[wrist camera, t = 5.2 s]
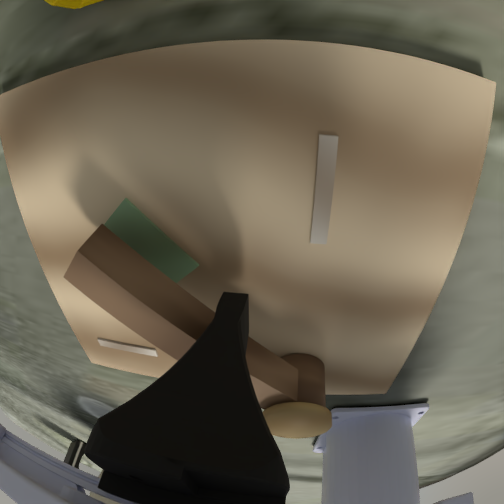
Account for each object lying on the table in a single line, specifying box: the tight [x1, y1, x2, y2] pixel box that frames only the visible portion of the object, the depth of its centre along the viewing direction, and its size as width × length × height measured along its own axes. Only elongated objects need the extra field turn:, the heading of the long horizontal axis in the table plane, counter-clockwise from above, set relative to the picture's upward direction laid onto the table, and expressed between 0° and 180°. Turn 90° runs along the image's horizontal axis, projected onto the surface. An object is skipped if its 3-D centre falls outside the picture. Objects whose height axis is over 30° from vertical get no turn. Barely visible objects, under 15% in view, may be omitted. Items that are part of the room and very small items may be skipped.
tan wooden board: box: [0, 40, 496, 395], centre depth 13 cm, size 18×20×1 cm
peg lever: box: [64, 224, 332, 438], centre depth 13 cm, size 14×3×4 cm, turn 46°
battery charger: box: [64, 440, 86, 469], centre depth 36 cm, size 7×4×11 cm, turn 139°
